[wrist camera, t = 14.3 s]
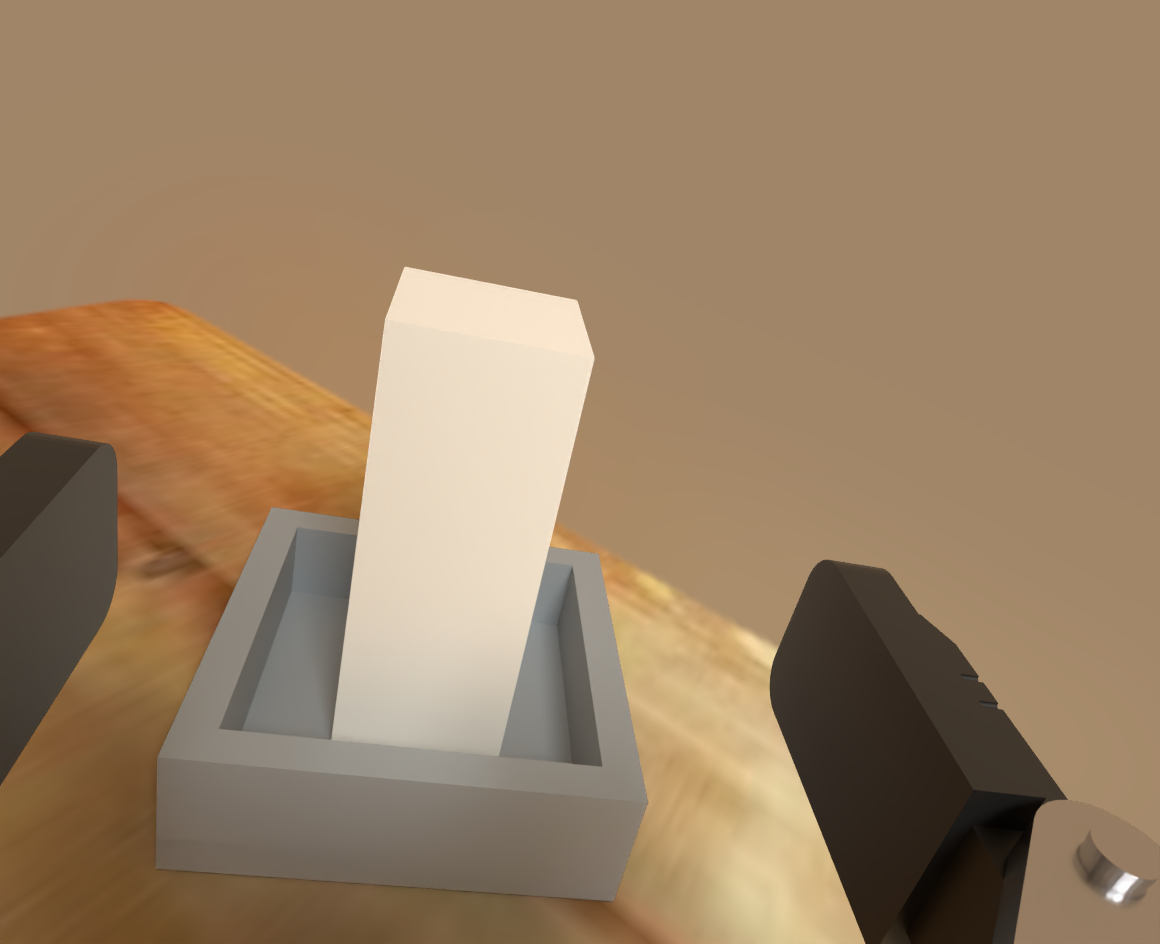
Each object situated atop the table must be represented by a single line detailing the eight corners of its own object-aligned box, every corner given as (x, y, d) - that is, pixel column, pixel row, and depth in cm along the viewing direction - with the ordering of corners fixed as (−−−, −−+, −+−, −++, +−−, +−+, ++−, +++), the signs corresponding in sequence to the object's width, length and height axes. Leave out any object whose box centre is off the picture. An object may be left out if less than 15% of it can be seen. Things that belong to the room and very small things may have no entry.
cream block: (330, 747, 23) (385, 319, 18) (354, 642, 27) (404, 266, 22) (497, 764, 24) (594, 357, 19) (496, 659, 28) (576, 300, 23)
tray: (155, 868, 20) (157, 757, 19) (265, 594, 30) (271, 507, 29) (613, 901, 22) (647, 802, 21) (576, 634, 32) (598, 553, 30)
